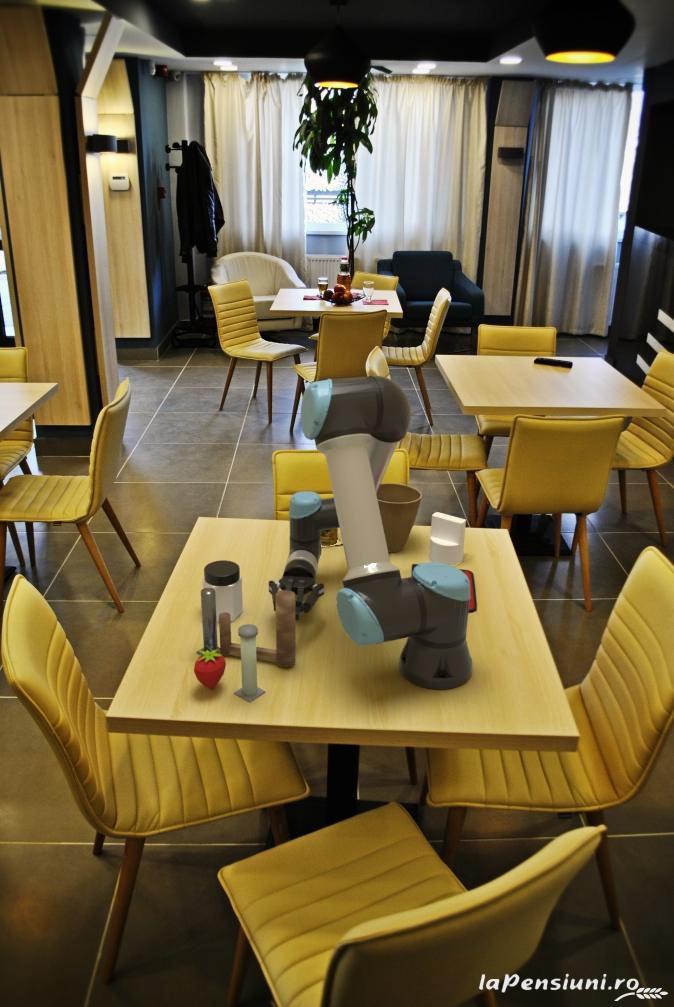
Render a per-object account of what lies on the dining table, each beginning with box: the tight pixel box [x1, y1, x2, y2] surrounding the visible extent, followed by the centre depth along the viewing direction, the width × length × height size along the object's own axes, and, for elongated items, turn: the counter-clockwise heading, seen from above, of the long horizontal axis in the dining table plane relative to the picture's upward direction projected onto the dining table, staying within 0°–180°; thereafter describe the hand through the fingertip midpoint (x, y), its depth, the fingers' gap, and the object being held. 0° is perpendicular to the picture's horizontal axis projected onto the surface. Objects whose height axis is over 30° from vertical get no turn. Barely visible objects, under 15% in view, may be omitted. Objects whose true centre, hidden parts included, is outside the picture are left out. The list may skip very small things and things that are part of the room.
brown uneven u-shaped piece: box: [218, 590, 296, 668], centre depth 177 cm, size 17×4×16 cm, turn 75°
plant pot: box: [376, 482, 422, 553], centre depth 229 cm, size 15×15×16 cm
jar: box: [202, 559, 244, 623], centre depth 196 cm, size 9×8×12 cm
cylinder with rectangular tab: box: [428, 511, 467, 566], centre depth 224 cm, size 9×9×12 cm
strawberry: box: [193, 645, 227, 691], centre depth 169 cm, size 6×8×10 cm
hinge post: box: [195, 588, 222, 656], centre depth 180 cm, size 4×4×15 cm
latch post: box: [233, 623, 266, 703], centre depth 167 cm, size 4×4×15 cm
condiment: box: [320, 528, 339, 546], centre depth 233 cm, size 7×8×12 cm
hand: (286, 624), depth 178 cm, fingers closed, pressing on brown uneven u-shaped piece
